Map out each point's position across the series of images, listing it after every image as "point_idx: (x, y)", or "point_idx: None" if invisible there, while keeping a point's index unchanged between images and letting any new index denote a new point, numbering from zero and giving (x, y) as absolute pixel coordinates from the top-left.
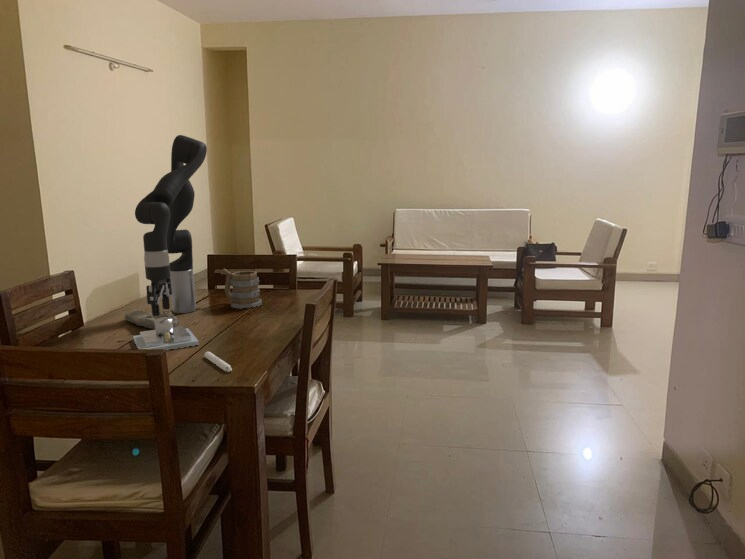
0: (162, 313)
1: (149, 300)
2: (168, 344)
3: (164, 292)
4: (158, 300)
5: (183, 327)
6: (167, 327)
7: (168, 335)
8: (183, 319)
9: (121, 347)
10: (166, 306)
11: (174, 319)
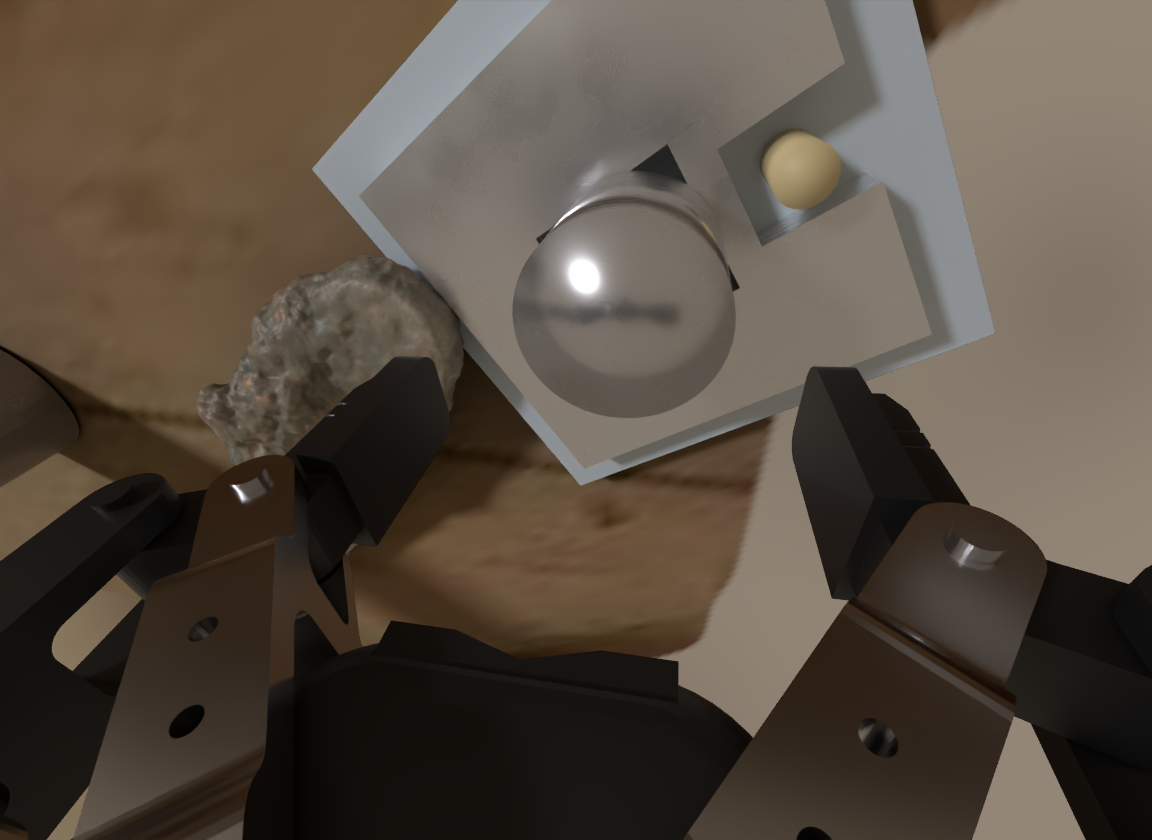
0: (255, 449)
1: (1140, 767)
2: (875, 113)
3: (389, 650)
4: (958, 591)
5: (406, 156)
6: (705, 223)
7: (827, 146)
8: (124, 336)
9: (729, 482)
10: (419, 407)
11: (308, 316)
